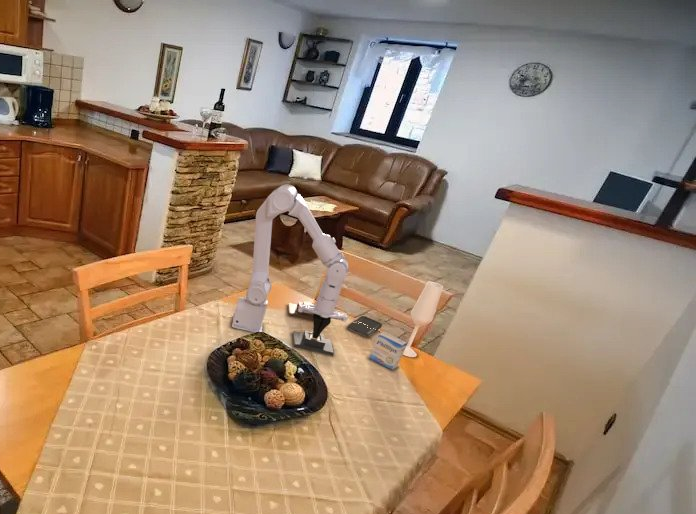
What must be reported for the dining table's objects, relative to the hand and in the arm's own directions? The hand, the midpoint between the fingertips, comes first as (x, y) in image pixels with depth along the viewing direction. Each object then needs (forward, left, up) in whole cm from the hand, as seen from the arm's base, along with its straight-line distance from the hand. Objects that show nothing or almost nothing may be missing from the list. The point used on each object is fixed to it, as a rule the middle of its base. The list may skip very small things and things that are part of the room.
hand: (314, 336), depth 154 cm
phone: (+20, +23, -3) cm, 31 cm away
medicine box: (+22, -1, -3) cm, 22 cm away
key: (0, 0, -1) cm, 1 cm away
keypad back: (-1, +23, -3) cm, 23 cm away
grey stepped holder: (0, 0, -3) cm, 3 cm away
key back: (-1, +23, 0) cm, 23 cm away
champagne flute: (+32, +11, -3) cm, 34 cm away
